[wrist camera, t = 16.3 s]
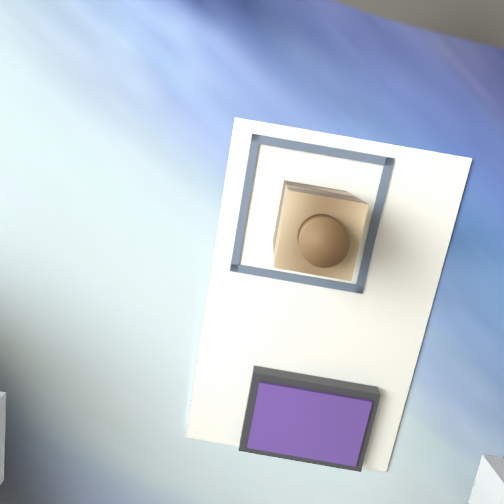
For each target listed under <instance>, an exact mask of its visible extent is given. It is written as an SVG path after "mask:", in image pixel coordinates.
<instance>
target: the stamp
mask: <svg viewBox="0 0 504 504" xmlns="http://www.w3.org/2000/svg"><path fill="white" fill-rule="evenodd" d="M368 206H369V204H368V203H366V202H364V201H362V200H361V199H359V198H357V197H355V196H354V195H352V194H350V193H348V192H346V191H343V190H337V189H332V188H326V187H320V186H314V185H309V184H303V183H297V182H291V181H285V180H284V183H283V189H282V194H281V200H280V205H279V211H278V216H277V222H276V227H275V232H274V238H273V252H274V268H278V269H284V270H289V271H295V272H301V273H307V274H312V275H318V276H324V277H330V278H335V279H341V280H347V281H351V280H352V276H353V272H354V267H355V263H356V259H357V254H358V250H359V245H360V241H361V237H362V232H363V228H364V224H365V219H366V215H367V210H368Z"/></svg>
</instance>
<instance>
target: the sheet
mask: <svg viewBox="0 0 504 504" xmlns="http://www.w3.org/2000/svg"><path fill="white" fill-rule="evenodd" d="M471 162H472V158H467V157H461V156H455V155H450V154H444V153H438V152H432V151H427V150H421V149H415V148H409V147H404V146H398V145H392V144H386V143H381V142H375V141H369V140H363V139H357V138H352V137H346V136H340V135H334V134H329V133H323V132H317V131H311V130H306V129H300V128H294V127H288V126H282V125H277V124H271V123H265V122H259V121H254V120H248V119H242V118H236V117H235V119H234V125H233V132H232V138H231V145H230V151H229V158H228V164H227V171H226V177H225V184H224V190H223V197H222V204H221V210H220V217H219V223H218V230H217V236H216V243H215V249H214V256H213V262H212V269H211V275H210V282H209V288H208V295H207V301H206V308H205V314H204V321H203V327H202V334H201V340H200V347H199V353H198V360H197V366H196V373H195V379H194V386H193V392H192V399H191V405H190V412H189V418H188V425H187V431H186V437H187V438H193V439H198V440H204V441H210V442H216V443H222V444H227V445H233V446H239V443H240V437H241V431H242V426H243V421H244V415H245V410H246V404H247V399H248V394H249V388H250V383H251V377H252V372H253V367H254V365H255V366H261V367H267V368H273V369H278V370H284V371H290V372H296V373H301V374H307V375H313V376H319V377H325V378H330V379H336V380H342V381H348V382H353V383H359V384H365V385H371V386H377V387H378V389H379V391H380V394H381V396H380V400H379V404H378V408H377V412H376V416H375V420H374V423H373V427H372V431H371V435H370V439H369V443H368V446H367V450H366V454H365V458H364V462H363V466H362V468H366V469H372V470H378V471H384V472H386V471H387V468H388V464H389V460H390V457H391V453H392V449H393V446H394V442H395V438H396V435H397V431H398V428H399V424H400V420H401V417H402V413H403V409H404V406H405V402H406V398H407V395H408V391H409V387H410V384H411V380H412V377H413V373H414V369H415V366H416V362H417V358H418V355H419V351H420V347H421V344H422V340H423V336H424V333H425V329H426V325H427V322H428V318H429V315H430V311H431V307H432V304H433V300H434V296H435V293H436V289H437V285H438V282H439V278H440V274H441V271H442V267H443V264H444V260H445V256H446V253H447V249H448V245H449V242H450V238H451V234H452V231H453V227H454V223H455V220H456V216H457V213H458V209H459V205H460V202H461V198H462V194H463V191H464V187H465V183H466V180H467V176H468V172H469V169H470V165H471ZM284 180H285V181H291V182H297V183H303V184H309V185H314V186H320V187H326V188H332V189H337V190H343V191H346V192H348V193H350V194H352V195H354V196H355V197H357V198H359V199H361V200H362V201H364V202H366V203H368V204H369V206H368V210H367V215H366V219H365V224H364V228H363V232H362V237H361V241H360V245H359V250H358V254H357V259H356V263H355V267H354V272H353V276H352V280H351V281H347V280H341V279H335V278H330V277H324V276H318V275H312V274H307V273H301V272H295V271H289V270H284V269H278V268H274V252H273V238H274V232H275V227H276V222H277V216H278V211H279V205H280V200H281V194H282V189H283V183H284Z"/></svg>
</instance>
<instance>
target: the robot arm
mask: <svg viewBox="0 0 504 504" xmlns="http://www.w3.org/2000/svg"><path fill="white" fill-rule="evenodd" d="M5 423H6V392H0V485H1V483H2V482H3V481H4V458H5ZM468 504H504V457H497V456H489V455H482V457H481V461H480V464H479V468H478V471H477V475H476V478H475V481H474V485H473V488H472V492H471V495H470V499H469V502H468Z"/></svg>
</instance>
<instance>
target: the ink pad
mask: <svg viewBox="0 0 504 504" xmlns="http://www.w3.org/2000/svg"><path fill="white" fill-rule="evenodd" d="M380 396H381V394H380V391H379V389H378V387H377V386H371V385H365V384H359V383H353V382H348V381H342V380H336V379H330V378H325V377H319V376H313V375H307V374H301V373H296V372H290V371H284V370H278V369H273V368H267V367H261V366H255V365H254V367H253V372H252V377H251V383H250V388H249V394H248V399H247V404H246V410H245V415H244V421H243V426H242V431H241V437H240V443H239V451H244V452H249V453H255V454H261V455H267V456H273V457H278V458H284V459H290V460H296V461H302V462H307V463H313V464H319V465H325V466H330V467H336V468H342V469H348V470H354V471H359V472H361V470H362V466H363V462H364V458H365V454H366V450H367V446H368V443H369V439H370V435H371V431H372V427H373V423H374V420H375V416H376V412H377V408H378V404H379V400H380Z"/></svg>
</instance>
